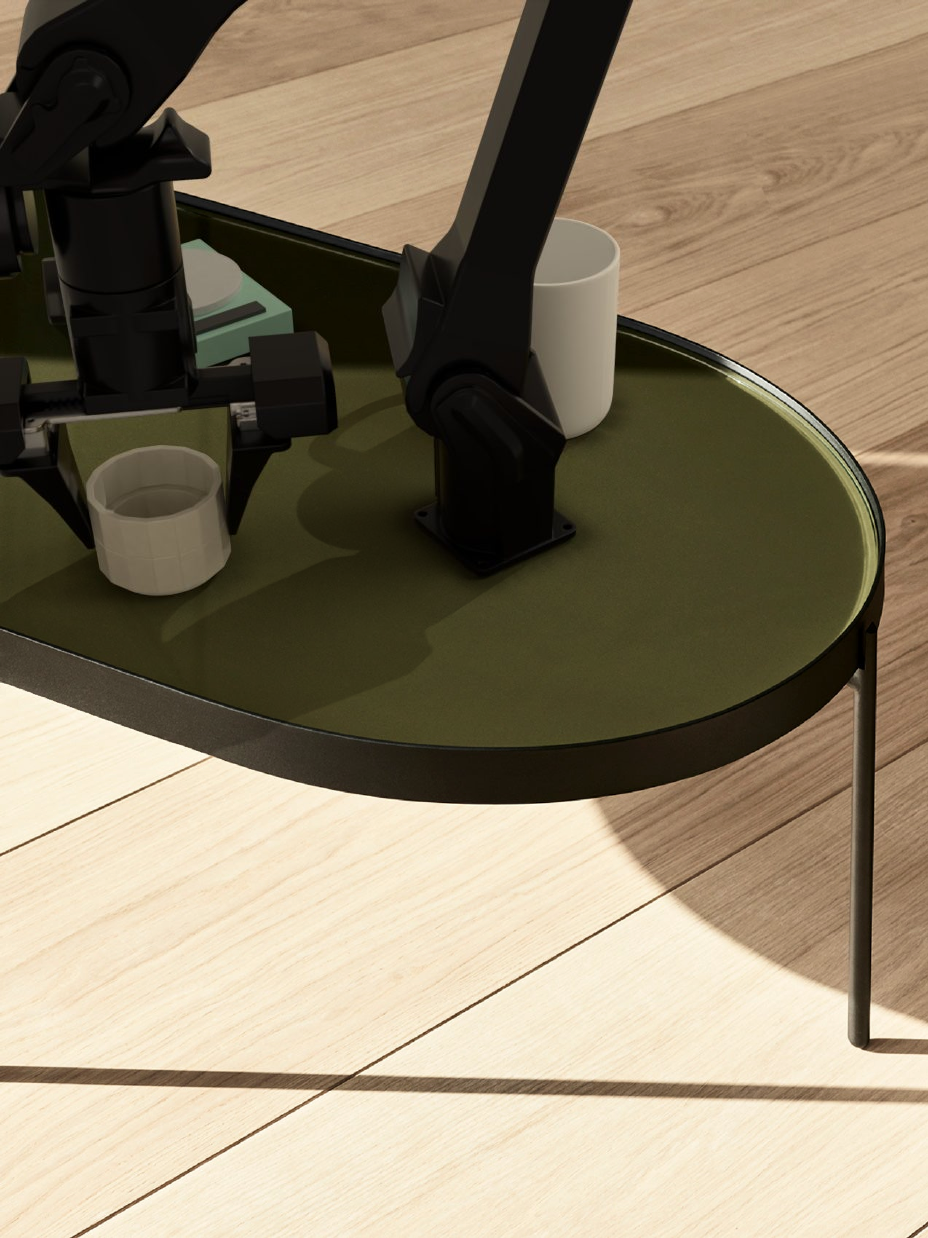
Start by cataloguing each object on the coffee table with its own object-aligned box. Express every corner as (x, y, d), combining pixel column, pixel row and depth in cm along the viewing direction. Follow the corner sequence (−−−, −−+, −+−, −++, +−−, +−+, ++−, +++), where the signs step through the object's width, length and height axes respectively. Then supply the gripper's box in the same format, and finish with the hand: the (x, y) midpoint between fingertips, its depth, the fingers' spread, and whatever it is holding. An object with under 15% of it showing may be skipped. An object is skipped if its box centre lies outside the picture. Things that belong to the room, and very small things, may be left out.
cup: (559, 461, 95) (564, 300, 88) (394, 394, 101) (388, 239, 94) (639, 397, 100) (648, 241, 93) (477, 338, 106) (476, 186, 99)
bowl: (254, 569, 87) (245, 490, 84) (137, 618, 84) (123, 538, 81) (192, 508, 92) (181, 430, 89) (78, 552, 89) (63, 474, 86)
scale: (294, 336, 106) (291, 300, 104) (167, 381, 102) (162, 343, 100) (202, 265, 114) (198, 229, 112) (81, 303, 110) (74, 267, 108)
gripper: (309, 175, 84) (328, 436, 94) (-71, 203, 82) (-10, 467, 92) (328, 279, 76) (347, 555, 86) (-95, 314, 74) (-25, 592, 84)
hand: (163, 537), depth 87 cm, fingers closed on bowl, 7 cm apart
